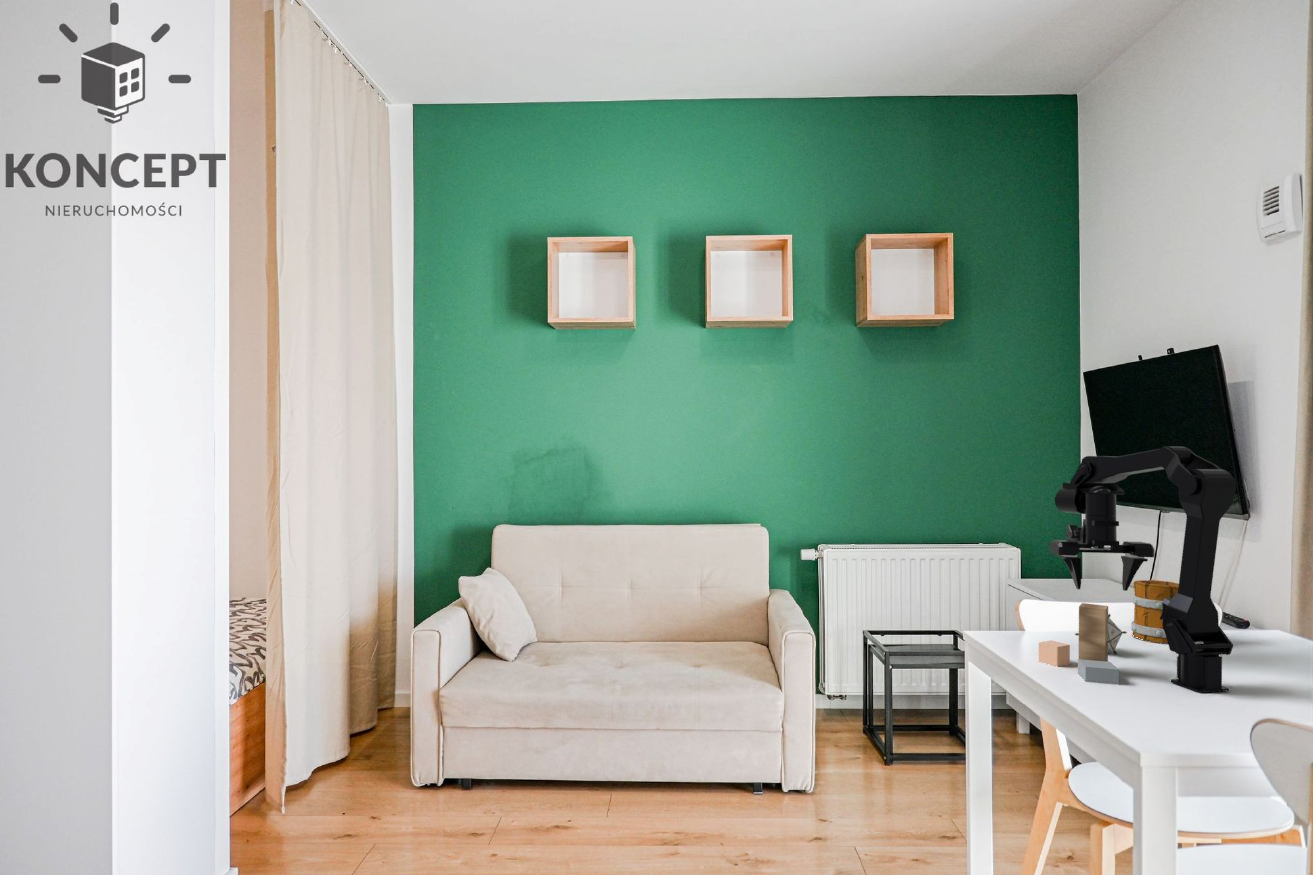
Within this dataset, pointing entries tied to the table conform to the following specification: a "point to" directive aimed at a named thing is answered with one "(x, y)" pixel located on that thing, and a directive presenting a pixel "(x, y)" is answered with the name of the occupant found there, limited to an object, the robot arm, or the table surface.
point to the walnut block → (1093, 632)
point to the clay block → (1054, 653)
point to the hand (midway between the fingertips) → (1101, 589)
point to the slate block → (1098, 671)
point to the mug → (1151, 608)
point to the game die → (1112, 635)
